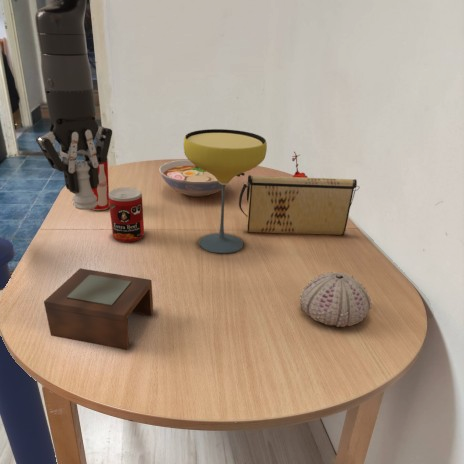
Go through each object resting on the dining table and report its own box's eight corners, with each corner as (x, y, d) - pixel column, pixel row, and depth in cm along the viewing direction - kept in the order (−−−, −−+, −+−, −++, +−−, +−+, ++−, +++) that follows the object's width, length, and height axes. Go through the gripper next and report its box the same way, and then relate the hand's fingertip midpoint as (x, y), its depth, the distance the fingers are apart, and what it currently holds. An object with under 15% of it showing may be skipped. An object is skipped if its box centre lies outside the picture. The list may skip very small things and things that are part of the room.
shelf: (50, 335, 78) (43, 300, 74) (84, 300, 87) (79, 267, 83) (127, 350, 75) (123, 314, 71) (153, 311, 85) (151, 278, 81)
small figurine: (303, 208, 135) (311, 157, 126) (281, 204, 137) (287, 153, 129) (311, 201, 140) (319, 151, 132) (290, 196, 143) (296, 147, 135)
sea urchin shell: (334, 341, 80) (342, 303, 76) (283, 305, 89) (288, 270, 85) (381, 318, 87) (391, 282, 83) (330, 288, 96) (337, 254, 92)
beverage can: (89, 203, 129) (82, 149, 121) (112, 203, 130) (107, 150, 122) (87, 211, 124) (80, 155, 116) (111, 211, 125) (106, 156, 117)
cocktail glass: (270, 241, 114) (282, 138, 100) (231, 268, 101) (237, 154, 87) (212, 223, 122) (215, 125, 108) (168, 245, 109) (166, 137, 95)
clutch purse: (344, 227, 125) (355, 172, 116) (350, 237, 119) (362, 181, 111) (236, 223, 123) (240, 168, 114) (238, 234, 117) (241, 176, 109)
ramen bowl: (143, 188, 142) (141, 162, 137) (200, 176, 155) (200, 152, 151) (192, 213, 127) (192, 185, 122) (250, 197, 140) (252, 171, 136)
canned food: (109, 242, 109) (105, 198, 103) (115, 228, 116) (111, 186, 110) (142, 243, 110) (139, 199, 103) (146, 229, 116) (143, 187, 110)
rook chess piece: (72, 203, 85) (65, 160, 81) (96, 201, 87) (91, 158, 82) (74, 211, 82) (67, 166, 77) (100, 209, 83) (94, 165, 79)
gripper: (93, 80, 80) (104, 177, 89) (15, 85, 71) (36, 193, 80) (119, 85, 76) (127, 186, 85) (39, 91, 67) (59, 204, 76)
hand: (83, 189), depth 83 cm, fingers closed on rook chess piece, 3 cm apart
